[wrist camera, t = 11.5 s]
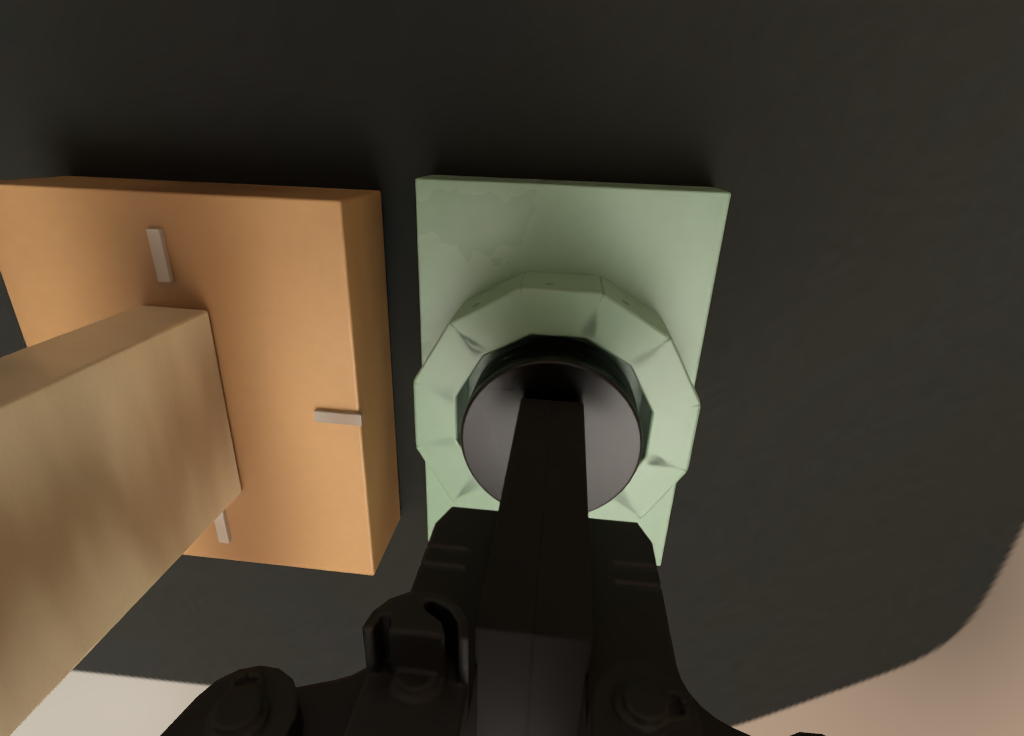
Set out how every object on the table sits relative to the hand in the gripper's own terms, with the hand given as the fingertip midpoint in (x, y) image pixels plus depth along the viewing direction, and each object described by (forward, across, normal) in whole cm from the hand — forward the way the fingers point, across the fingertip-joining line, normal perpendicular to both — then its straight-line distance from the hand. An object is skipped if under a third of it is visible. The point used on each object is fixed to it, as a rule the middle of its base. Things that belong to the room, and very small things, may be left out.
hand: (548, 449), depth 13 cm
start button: (+2, 0, 0) cm, 2 cm away
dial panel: (+5, +10, 0) cm, 12 cm away
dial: (+2, +11, 0) cm, 11 cm away
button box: (+5, 0, 0) cm, 5 cm away
